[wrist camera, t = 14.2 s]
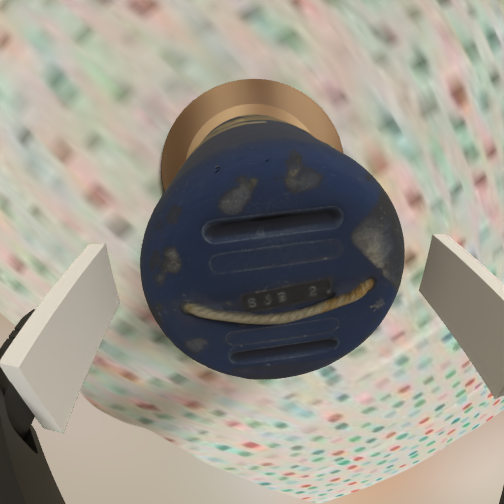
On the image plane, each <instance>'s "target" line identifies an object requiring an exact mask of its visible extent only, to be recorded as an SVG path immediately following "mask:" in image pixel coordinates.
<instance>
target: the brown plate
mask: <svg viewBox="0 0 504 504" xmlns="http://www.w3.org/2000/svg"><path fill="white" fill-rule="evenodd" d="M250 114H259V115H267V116H271V117H274V118H277V119H280V120H283V121H286V122H288V123H291V124H293V125H295V126H297V127H299V128H302V129H304V130H306V131H308V132H309V133H311V134H312V135H313V136H314V137H315V138H316V139H318V140H320V141H322V142H325V143H328V144H331V145H334V147H335V149H336V150H338V151H340V152H341V153H343V149H342V145H341V141H340V138H339V136H338V133H337V131H336V129H335V127H334V125H333V123H332V122H331V120H330V118H329V117H328V116H327V114H326V113H325V112H324V111H323V110H322V108H321V107H320V106H319V105H318V104H317V103H315V102H314V101H313V100H312V99H311V98H309V97H308V96H307V95H305V94H304V93H302V92H300V91H298V90H296V89H295V88H293V87H291V86H288V85H285V84H282V83H279V82H275V81H270V80H262V79H246V80H237V81H233V82H228V83H225V84H222V85H220V86H217V87H214V88H212V89H211V90H209V91H207V92H205V93H203V94H202V95H200V96H199V97H198V98H196V99H195V100H194V101H192V102H191V103H190V104H189V105H188V106H187V107H186V108H185V109H184V110H183V111H182V113H181V114H180V115H179V117H178V118H177V119H176V121H175V122H174V124H173V126H172V128H171V129H170V131H169V134H168V136H167V139H166V141H165V145H164V149H163V153H162V162H161V174H162V182H163V188H164V191H165V190H166V189H167V187H168V186H169V184H170V183H171V182H172V180H173V179H174V177H175V175H176V174H177V172H178V171H179V169H180V167H181V166H182V165H183V163H184V162H185V161H186V160H187V158H188V157H189V155H190V154H191V153H192V152H193V150H194V149H195V148H196V147H197V146H198V145H199V144H200V143H201V142H202V141H203V139H204V138H205V137H206V136H207V135H208V134H209V133H210V132H211V131H212V130H213V129H214V128H216V127H217V126H218V125H220V124H222V123H223V122H225V121H227V120H229V119H232V118H235V117H238V116H242V115H250Z"/></svg>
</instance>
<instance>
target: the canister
mask: <svg viewBox="0 0 504 504" xmlns="http://www.w3.org/2000/svg"><path fill="white" fill-rule="evenodd" d="M403 268H404V238H403V233H402V228H401V224H400V221H399V218H398V215H397V212H396V210H395V208H394V206H393V204H392V202H391V200H390V198H389V197H388V195H387V193H386V192H385V191H384V189H383V188H382V187H381V185H380V184H379V183H378V182H377V181H376V179H375V178H374V177H373V176H372V175H371V174H370V173H369V172H368V171H367V170H366V169H365V168H363V167H362V166H361V165H360V164H358V163H357V162H356V161H354V160H353V159H351V158H350V157H348V156H347V155H345V154H343V153H341V152H340V151H338V150H336V149H335V147H334V145H331V144H328V143H325V142H322V141H320V140H318V139H316V138H315V137H314V136H313V135H312V134H311V133H309V132H308V131H306V130H304V129H302V128H299V127H297V126H295V125H293V124H291V123H288V122H286V121H283V120H280V119H277V118H274V117H271V116H267V115H259V114H250V115H242V116H238V117H235V118H232V119H229V120H227V121H225V122H223V123H222V124H220V125H218V126H217V127H216V128H214V129H213V130H212V131H211V132H210V133H209V134H208V135H207V136H206V137H205V138H204V139H203V141H202V142H201V143H200V144H199V145H198V146H197V147H196V148H195V149H194V150H193V152H192V153H191V154H190V155H189V157H188V158H187V160H186V161H185V162H184V163H183V165H182V166H181V167H180V169H179V171H178V172H177V174H176V175H175V177H174V179H173V180H172V182H171V183H170V184H169V186H168V187H167V189H166V190H165V192H164V194H163V195H162V197H161V199H160V200H159V202H158V204H157V205H156V207H155V209H154V211H153V213H152V215H151V218H150V220H149V222H148V225H147V228H146V231H145V234H144V239H143V243H142V248H141V257H140V270H141V280H142V286H143V291H144V294H145V297H146V301H147V304H148V306H149V309H150V311H151V312H152V314H153V316H154V318H155V320H156V321H157V323H158V325H159V326H160V328H161V329H162V331H163V332H164V333H165V335H166V336H167V337H168V338H169V339H170V340H171V341H172V342H173V343H174V345H175V346H177V347H178V348H179V349H180V350H181V351H182V352H183V353H185V354H186V355H187V356H189V357H190V358H192V359H193V360H195V361H197V362H199V363H201V364H203V365H205V366H207V367H208V368H211V369H213V370H216V371H218V372H221V373H225V374H228V375H232V376H237V377H242V378H246V379H279V378H286V377H292V376H297V375H301V374H305V373H308V372H311V371H315V370H318V369H320V368H323V367H325V366H327V365H329V364H331V363H333V362H335V361H337V360H338V359H340V358H342V357H343V356H345V355H347V354H348V353H350V352H351V351H352V350H354V349H355V348H356V347H358V346H359V345H360V344H361V343H363V342H364V341H365V340H366V339H367V338H368V337H369V336H370V335H371V334H372V333H373V332H374V331H375V330H376V328H377V327H378V326H379V325H380V323H381V322H382V320H383V319H384V317H385V316H386V314H387V312H388V311H389V309H390V307H391V305H392V303H393V301H394V299H395V297H396V294H397V292H398V289H399V286H400V283H401V279H402V273H403Z"/></svg>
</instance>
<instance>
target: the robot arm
mask: <svg viewBox="0 0 504 504" xmlns="http://www.w3.org/2000/svg"><path fill="white" fill-rule="evenodd" d="M419 291H420V292H421V294H422V295H423V296H424V297H425V299H426V300H427V301H428V303H429V304H430V305H431V306H432V308H433V309H434V310H435V312H436V313H437V314H438V316H439V317H440V318H441V320H442V321H443V322H444V324H445V325H446V327H447V328H448V329H449V331H450V332H451V333H452V335H453V336H454V338H455V339H456V340H457V342H458V343H459V345H460V346H461V348H462V349H463V350H464V352H465V353H466V355H467V356H468V358H469V359H470V361H471V362H472V364H473V365H474V367H475V368H476V370H477V371H478V373H479V374H480V376H481V377H482V379H483V380H484V382H485V384H486V385H487V387H488V388H489V390H490V391H491V393H492V395H493V396H494V398H495V399H496V398H498V397H501V396H503V395H504V284H503V283H502V282H501V281H500V280H498V279H497V278H496V277H495V276H494V275H493V274H492V273H491V272H490V271H489V270H488V269H486V268H485V267H484V266H483V265H482V264H481V263H480V262H479V261H477V260H476V259H475V258H474V257H473V256H472V255H471V254H469V253H468V252H467V251H466V250H465V249H464V248H462V247H461V246H460V245H459V244H458V243H456V242H455V241H454V240H453V239H452V238H450V237H449V236H448V235H447V234H433V235H432V240H431V244H430V249H429V253H428V258H427V262H426V266H425V270H424V274H423V277H422V281H421V285H420V289H419ZM119 304H120V301H119V297H118V293H117V290H116V286H115V282H114V278H113V274H112V270H111V266H110V262H109V257H108V253H107V248H106V244H89V245H88V246H87V247H86V248H85V249H84V250H83V252H82V253H81V254H80V255H79V256H78V257H77V259H76V260H75V261H74V262H73V263H72V264H71V266H70V267H69V268H68V269H67V270H66V272H65V273H64V274H63V275H62V276H61V278H60V279H59V280H58V281H57V283H56V284H55V285H54V286H53V288H52V289H51V290H50V291H49V293H48V294H47V295H46V296H45V298H44V299H43V300H42V302H41V303H40V304H39V306H38V307H37V308H36V309H33V310H32V311H31V312H29V313H28V314H27V315H25V316H24V317H23V318H22V319H21V320H20V322H19V323H18V324H17V326H16V327H15V330H13V331H12V333H11V334H10V335H9V339H7V340H6V341H5V342H4V344H3V345H2V347H1V348H0V504H65V502H64V500H63V497H62V496H61V493H60V491H59V489H58V487H57V485H56V482H55V480H54V478H53V476H52V474H51V471H50V468H49V466H48V464H47V461H46V459H45V456H44V453H43V451H42V448H41V445H40V443H39V440H38V437H37V434H36V431H35V430H34V428H33V426H32V425H31V424H32V421H33V419H34V417H35V418H36V419H37V420H38V422H40V424H41V425H42V427H43V428H46V429H49V430H53V431H57V432H61V433H64V431H65V428H66V426H67V423H68V420H69V418H70V414H71V413H72V410H73V407H74V405H75V402H76V399H77V397H78V395H79V392H80V390H81V387H82V385H83V383H84V380H85V378H86V376H87V373H88V371H89V369H90V366H91V364H92V362H93V359H94V357H95V355H96V353H97V350H98V348H99V346H100V344H101V342H102V339H103V337H104V335H105V333H106V331H107V329H108V327H109V324H110V322H111V320H112V318H113V316H114V314H115V312H116V310H117V308H118V306H119ZM499 504H504V487H503V491H502V495H501V499H500V502H499Z"/></svg>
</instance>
